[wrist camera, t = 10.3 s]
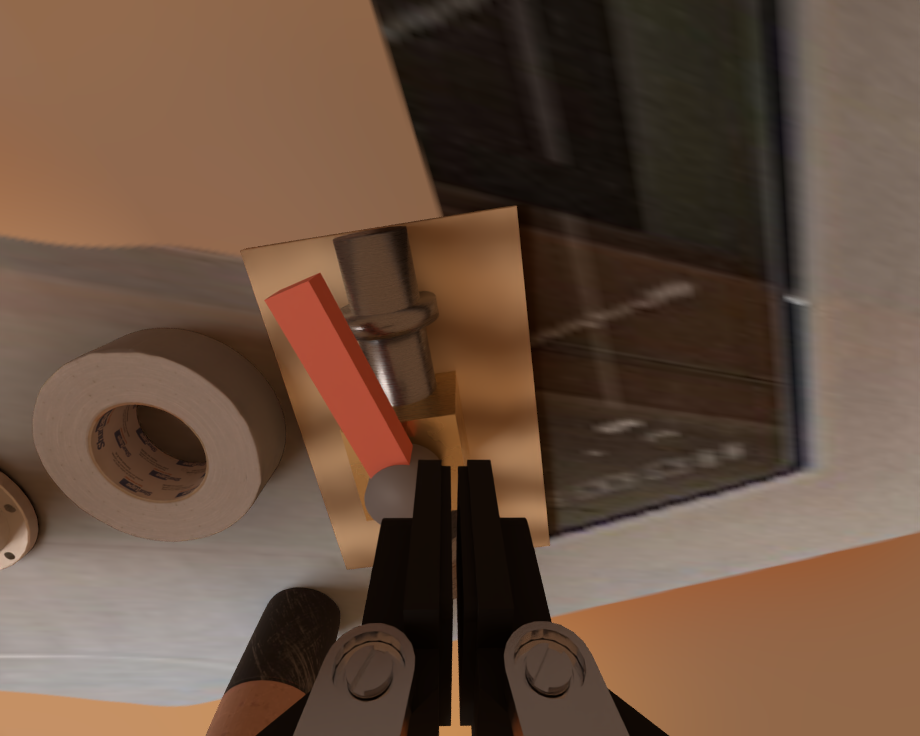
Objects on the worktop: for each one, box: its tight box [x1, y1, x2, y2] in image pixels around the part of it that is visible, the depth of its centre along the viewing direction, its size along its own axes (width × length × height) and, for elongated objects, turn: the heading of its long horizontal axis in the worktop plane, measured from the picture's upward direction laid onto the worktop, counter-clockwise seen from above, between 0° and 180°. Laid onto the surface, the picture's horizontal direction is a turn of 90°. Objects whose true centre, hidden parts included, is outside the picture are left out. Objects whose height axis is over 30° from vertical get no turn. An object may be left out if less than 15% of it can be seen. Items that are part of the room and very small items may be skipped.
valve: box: [333, 226, 470, 599], centre depth 32 cm, size 28×7×8 cm, turn 9°
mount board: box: [240, 205, 550, 570], centre depth 35 cm, size 28×18×1 cm, turn 9°
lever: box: [264, 273, 439, 525], centre depth 25 cm, size 15×4×3 cm, turn 23°
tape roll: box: [32, 328, 286, 541], centre depth 34 cm, size 15×15×5 cm
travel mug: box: [206, 588, 340, 736], centre depth 35 cm, size 8×8×20 cm
